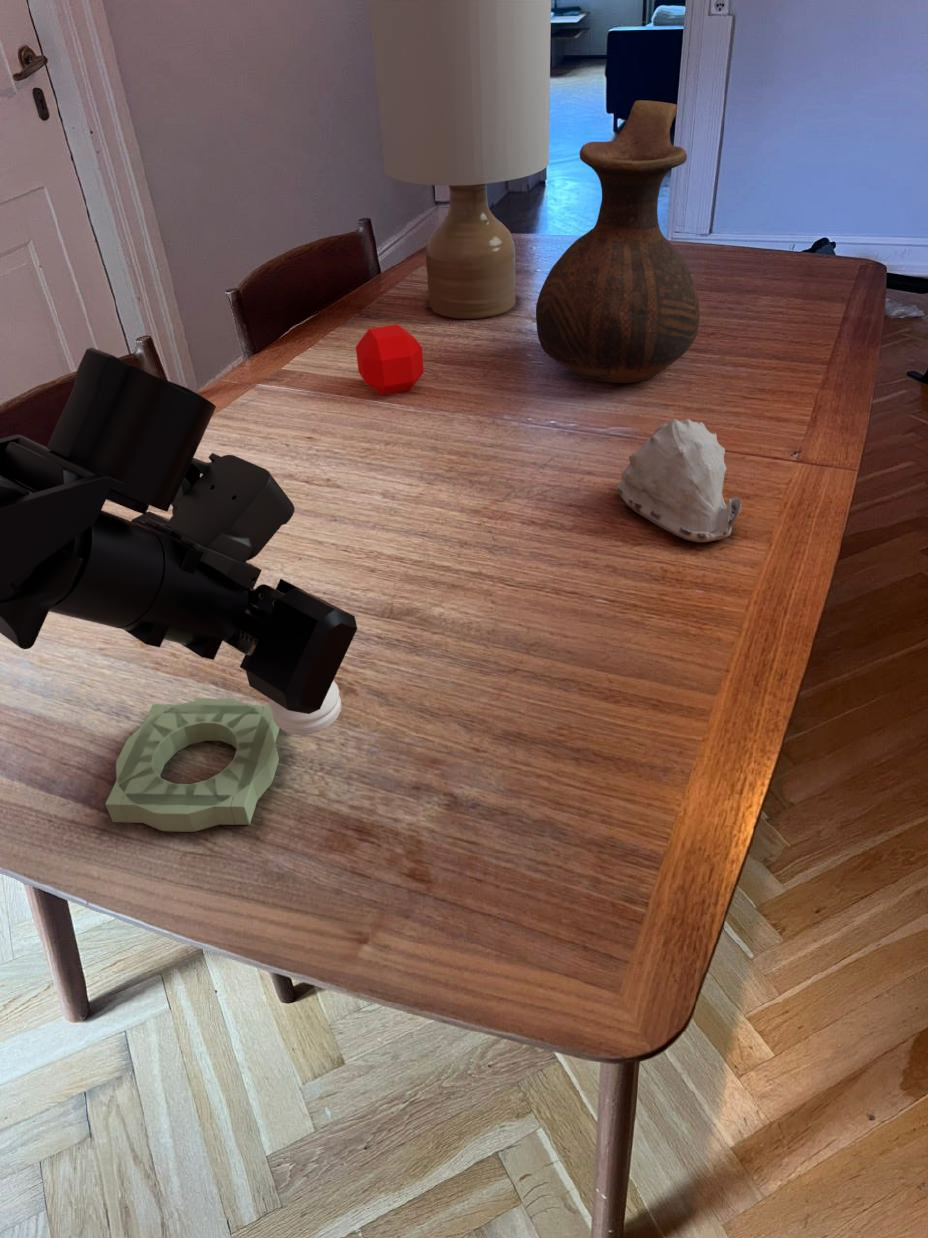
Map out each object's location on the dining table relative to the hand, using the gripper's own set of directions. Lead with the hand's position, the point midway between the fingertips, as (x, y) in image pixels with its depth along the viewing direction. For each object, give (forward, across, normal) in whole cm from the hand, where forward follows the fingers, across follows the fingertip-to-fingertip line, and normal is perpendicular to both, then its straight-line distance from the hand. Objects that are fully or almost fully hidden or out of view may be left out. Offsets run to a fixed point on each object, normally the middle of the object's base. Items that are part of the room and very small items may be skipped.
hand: (308, 631), depth 61 cm
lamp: (+65, +52, -50) cm, 97 cm away
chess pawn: (+4, 0, +6) cm, 7 cm away
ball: (+44, +41, -28) cm, 66 cm away
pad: (+3, +6, +13) cm, 15 cm away
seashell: (+40, -6, -25) cm, 48 cm away
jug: (+59, +20, -44) cm, 77 cm away
